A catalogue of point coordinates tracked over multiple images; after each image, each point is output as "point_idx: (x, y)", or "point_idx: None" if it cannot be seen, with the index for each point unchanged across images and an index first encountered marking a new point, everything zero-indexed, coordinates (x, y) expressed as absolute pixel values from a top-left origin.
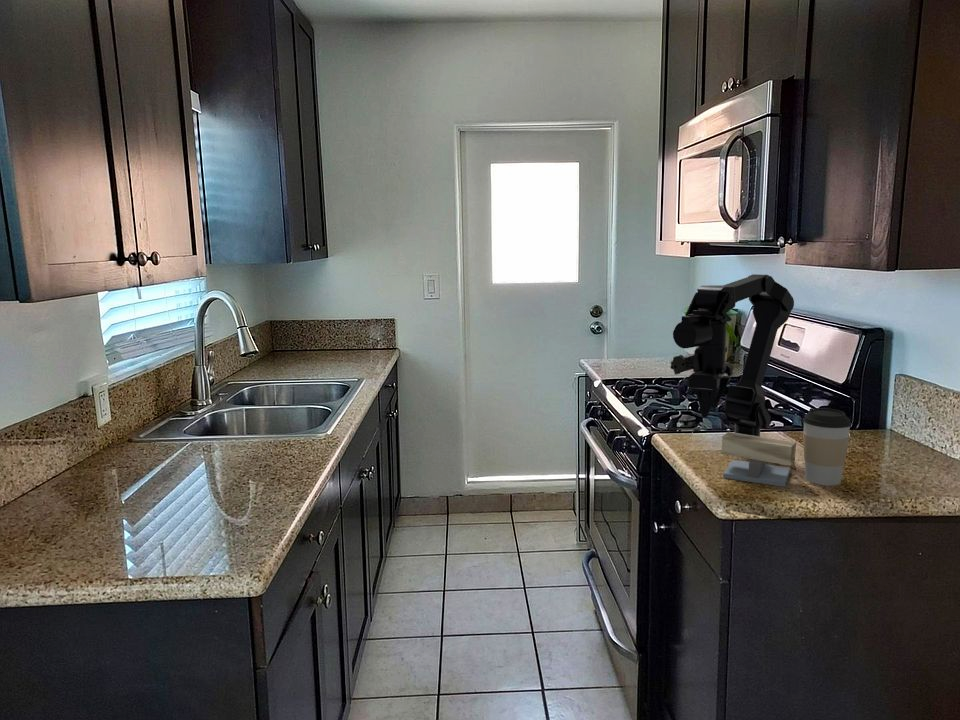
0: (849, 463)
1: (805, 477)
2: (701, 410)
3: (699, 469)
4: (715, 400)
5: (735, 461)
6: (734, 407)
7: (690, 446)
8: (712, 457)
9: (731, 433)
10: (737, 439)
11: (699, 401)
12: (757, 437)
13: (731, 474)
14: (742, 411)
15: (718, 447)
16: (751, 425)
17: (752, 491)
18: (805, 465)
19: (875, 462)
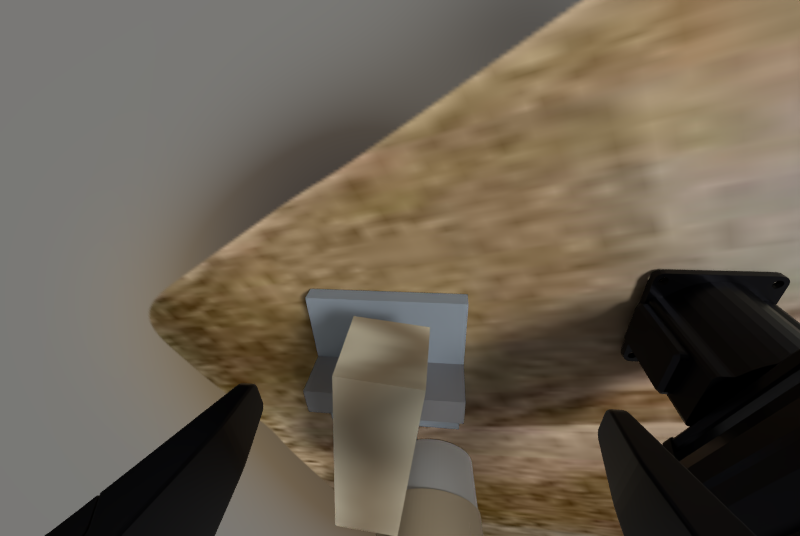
0: (585, 503)
1: (420, 442)
2: (189, 429)
3: (349, 206)
4: (628, 505)
5: (452, 314)
6: (788, 479)
7: (711, 77)
8: (529, 221)
9: (401, 402)
10: (334, 418)
11: (77, 521)
12: (392, 469)
13: (310, 318)
14: (716, 491)
15: (705, 217)
16: (697, 430)
17: (257, 357)
18: (414, 473)
19: (609, 532)
